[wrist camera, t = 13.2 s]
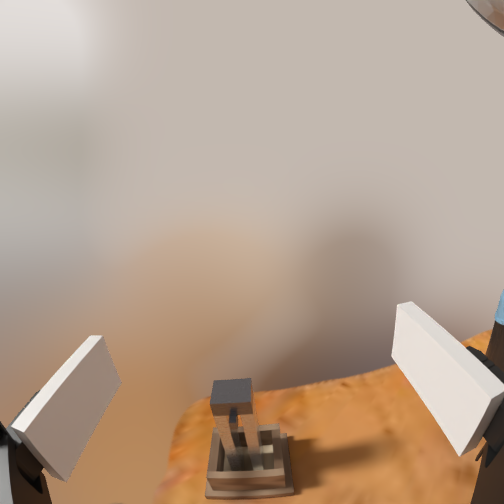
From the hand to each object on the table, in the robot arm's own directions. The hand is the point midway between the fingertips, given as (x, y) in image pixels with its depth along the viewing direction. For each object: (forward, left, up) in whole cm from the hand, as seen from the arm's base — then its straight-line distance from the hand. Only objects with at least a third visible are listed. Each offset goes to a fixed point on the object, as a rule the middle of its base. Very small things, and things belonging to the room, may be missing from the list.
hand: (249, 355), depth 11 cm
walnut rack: (+4, -15, -32) cm, 35 cm away
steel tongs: (+4, -15, -31) cm, 34 cm away
